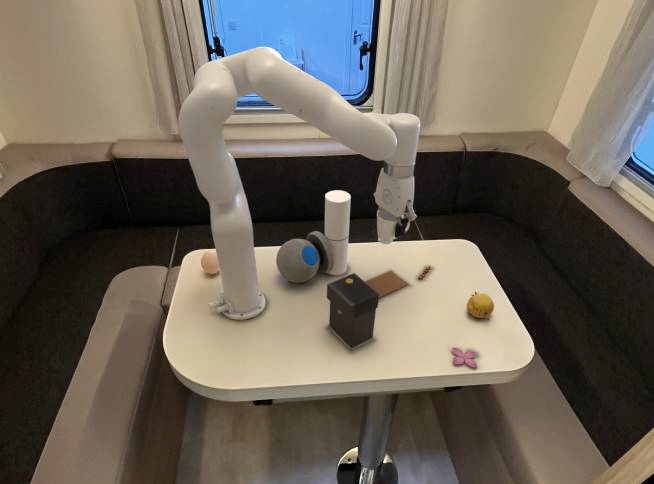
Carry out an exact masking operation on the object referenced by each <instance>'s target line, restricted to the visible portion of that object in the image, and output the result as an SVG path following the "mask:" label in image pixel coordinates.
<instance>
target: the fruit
mask: <svg viewBox="0 0 654 484" xmlns="http://www.w3.org/2000/svg"><path fill="white" fill-rule="evenodd" d="M466 309H467V311H468V312H467V313H469V314H470V315H472V316H474V317H475V318H478V319H484V318H486V319H487V321H490V318H489V317H488V316H490V314H492V313H493V312H494V309H495V303H494V301H493V299H492V298H491V296H490V295H489V294H487V293H481V292H480V293H479V292H477V291H474V294H471V297H470V298H469V299H468V300H467V303H466Z"/></svg>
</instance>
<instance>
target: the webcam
mask: <svg viewBox="0 0 654 484" xmlns="http://www.w3.org/2000/svg"><path fill="white" fill-rule="evenodd" d="M275 263H276V267H277V270H278V272H279V274H280V275H281V276H282V277H283V278H284V279H285V280H287V281H289V282H292V283H296V284H297V283H298V284H299V283H305V282H307V281H309V280H311V279H312V278H314V277H315V275H316V274H317V273H318V272H320V273H322V274H328V273H327V272H329V271H331V270H332V269H333V266H334V256H333V252H332V249H331V246H330V244H329V242H328V241H327V239H326V238H325V234H323V233H322V232H320V231H318V230H314V231H312V232H310V233H308V235H307V236H306V239H304V238H292V239H290V240H288V241H286V242H284V243H283V244H282V245H281V246H280V247H279V248H278V250H277V254H276V258H275Z"/></svg>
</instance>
